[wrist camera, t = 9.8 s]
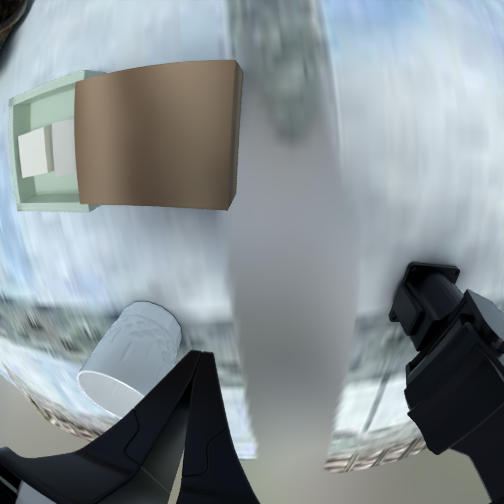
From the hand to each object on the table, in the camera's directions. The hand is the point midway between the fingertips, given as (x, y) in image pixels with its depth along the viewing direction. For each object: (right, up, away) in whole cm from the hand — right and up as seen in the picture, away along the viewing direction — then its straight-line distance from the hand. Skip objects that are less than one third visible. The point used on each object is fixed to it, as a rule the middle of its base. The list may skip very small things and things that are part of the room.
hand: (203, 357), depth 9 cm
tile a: (-12, +12, +7) cm, 18 cm away
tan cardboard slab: (-5, +13, +9) cm, 16 cm away
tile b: (-17, +12, +7) cm, 22 cm away
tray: (-15, +14, +9) cm, 22 cm away
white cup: (-9, -4, +18) cm, 20 cm away
